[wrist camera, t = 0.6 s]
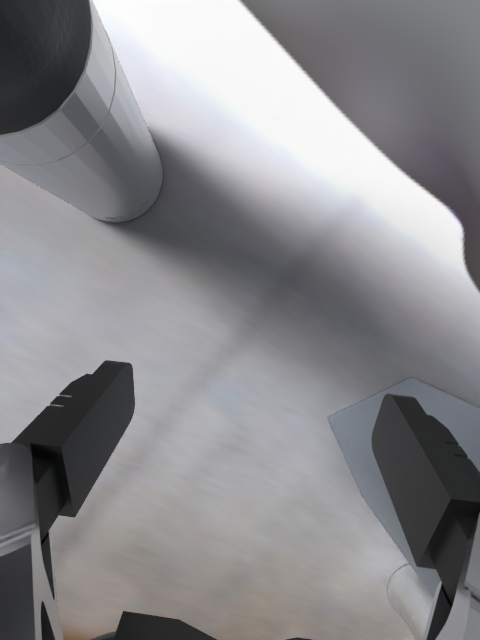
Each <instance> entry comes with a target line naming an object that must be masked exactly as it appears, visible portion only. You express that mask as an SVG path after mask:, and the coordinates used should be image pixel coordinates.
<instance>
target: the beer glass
mask: <svg viewBox="0 0 480 640" xmlns="http://www.w3.org/2000/svg"><path fill="white" fill-rule="evenodd" d="M387 594H388V598H389V601H390V603H391V604H392V606H393V607H394V609H395V610H396V611H397V613H398V614H399V615H400V616H401V618H402V619H403V620H404V622H405V623H406V625H407V626H408V628H409V629H410V631H411V633H412V635H413V637H414V639H415V640H422V639H423V635H424V631H425V628H426V624H427V621H428V617H429V614H430V610H431V607H432V603H433V599H434V598H433V597H432V595H431V594H430V593H429V591H428V590H427V588H426V587H425V585H424V584H423V583H422V581H421V580H420V578H419V577H418V575H417V574H416V573H415V571H414V570H413V568H412V567H411V565H410V564H409V565H405V566H403V567H401V568H400V569H398V570H397V571H396V572H395V573H394V574H393V575H392V577H391V579H390V581H389V583H388V587H387Z"/></svg>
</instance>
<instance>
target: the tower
mask: <svg viewBox="0 0 480 640" xmlns="http://www.w3.org/2000/svg"><path fill="white" fill-rule="evenodd" d="M386 394H397V395H405V396H413V397H415V398H416V399H417V401H418V402H419V404H420V405H421V407H422V408H423V410H424V411H425V412H426V414H427V415H432V416H433V417H435V418H436V419H437V420H438V421H439V422H441V423H442V424H443V425H444V426H445V427H447V428H448V429H449V431H450V432H451V433H452V435H453V436H454V438H455V439H456V440H457V442H458V443H459V444H458V445H459V446H461V447H462V449H463V450H464V451H465V453H466V454H467V455H468V456H467V457H468V459H470V460H471V461H472V462H473V464H474V465H475V467H476V468H477V469H478V471H479V472H480V408H478V407H476V406H474V405H472V404H470V403H467V402H465V401H463V400H461V399H459V398H456V397H454V396H452V395H450V394H448V393H445V392H443V391H441V390H439V389H436V388H434V387H432V386H430V385H428V384H425V383H423V382H421V381H419V380H417V379H414V378H412V377H411V378H408V379H406V380H404V381H402V382H400V383H398V384H396V385H394V386H392V387H390V388H387V389H385V390H383V391H381V392H379V393H377V394H375V395H373V396H371V397H369V398H367V399H364V400H362V401H360V402H358V403H356V404H354V405H352V406H350V407H348V408H346V409H344V410H341V411H339V412H337V413H335V414H333V415H331V416H329V417H327V418H328V421H329V423H330V425H331V427H332V430H333V432H334V434H335V436H336V439H337V441H338V443H339V445H340V448H341V450H342V452H343V454H344V457H345V459H346V461H347V463H348V465H349V468H350V470H351V472H352V474H353V477H354V479H355V481H356V483H357V486H358V488H359V490H360V492H361V495H362V497H363V498H364V500H365V501H366V502H367V504H368V505H369V507H370V508H371V510H372V511H373V512H374V514H375V515H376V517H377V518H378V520H379V521H380V522H381V524H382V525H383V527H384V528H385V530H386V531H387V532H388V534H389V535H390V537H391V538H392V540H393V541H394V542H395V544H396V545H397V547H398V548H399V550H400V551H401V553H402V554H403V555H404V557H405V558H406V560H407V561H408V563H409V564H410V565H411V567H412V568H413V570H414V571H415V573H416V574H417V575H418V577H419V578H420V580H421V581H422V583H423V584H424V585H425V587H426V588H427V590H428V591H429V593H430V594H431V595H432V597H433V598H434V596H435V592H436V589H437V587H438V584H439V583H440V581H441V579H440V577H439V575H438V572H437V570H436V569H430V568H422V567H417V566H416V563H415V561H414V558H413V556H412V553H411V550H410V548H409V545H408V543H407V540H406V537H405V535H404V532H403V530H402V527H401V524H400V522H399V519H398V516H397V514H396V511H395V509H394V506H393V503H392V501H391V498H390V496H389V493H388V490H387V488H386V485H385V483H384V480H383V477H382V475H381V472H380V469H379V467H378V464H377V462H376V459H375V456H374V454H373V450H372V442H371V440H372V432H373V428H374V425H375V422H376V419H377V416H378V413H379V410H380V407H381V403H382V400H383V398H384V396H385V395H386Z"/></svg>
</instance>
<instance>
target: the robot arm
mask: <svg viewBox="0 0 480 640" xmlns="http://www.w3.org/2000/svg"><path fill="white" fill-rule="evenodd" d="M0 164H1V165H3V166H4V167H6V168H8V169H10V170H11V171H13V172H15V173H17V174H18V175H20V176H22V177H23V178H25V179H27V180H29V181H30V182H32V183H34V184H36V185H37V186H39V187H41V188H43V189H44V190H46V191H48V192H50V193H51V194H53V195H55V196H57V197H58V198H60V199H62V200H63V201H65V202H67V203H69V204H70V205H72V206H74V207H76V208H77V209H79V210H81V211H83V212H85V213H86V214H88V215H90V216H92V217H93V218H96V219H99V220H102V221H105V222H114V223H117V222H126V221H129V220H132V219H135V218H137V217H139V216H140V215H142V214H144V213H145V212H146V211H147V210H148V209H149V208H150V207H151V206H152V205H153V203H154V202H155V200H156V199H157V197H158V195H159V192H160V190H161V186H162V180H163V168H162V163H161V159H160V156H159V153H158V151H157V149H156V146H155V144H154V142H153V139H152V137H151V134H150V132H149V130H148V127H147V125H146V123H145V120H144V118H143V116H142V113H141V111H140V109H139V106H138V104H137V102H136V99H135V97H134V95H133V93H132V90H131V88H130V86H129V83H128V81H127V79H126V76H125V74H124V72H123V69H122V67H121V65H120V62H119V60H118V58H117V56H116V53H115V51H114V49H113V46H112V44H111V42H110V39H109V37H108V35H107V32H106V30H105V29H104V26H103V24H102V22H101V19H100V17H99V15H98V12H97V10H96V8H95V5H94V3H93V1H92V0H0ZM134 407H135V397H134V382H133V368H132V365H131V364H130V363H125V362H117V361H108V360H107V361H104V362H103V363H102V364H101V366H100V367H99V368H98V369H97V370H96V371H95V372H94V373H93V374H92V375H91V374H86V375H84V376H82V377H80V378H78V379H77V380H75V381H73V382H71V383H70V384H69V385H68V386H67V387H66V388H65V389H64V390H63V391H62V392H61V393H60V395H59V396H57V397H56V398H55V399H54V400H53V401H52V402H51V403H50V406H47V407H46V408H45V409H44V410H43V411H42V412H41V413H40V414H39V415H38V416H37V417H36V418H35V419H34V420H33V421H32V422H31V423H30V424H29V425H28V426H27V427H26V428H25V429H24V430H23V431H22V432H21V433H20V434H19V435H18V437H17V438H16V439H15V440H14V441H13V442H12V443H4V444H0V640H63V634H62V628H61V623H60V617H59V609H58V600H57V590H56V579H55V569H54V559H53V548H52V538H51V531H50V528H51V526H52V525H53V523H54V521H55V520H56V518H57V517H58V515H61V516H68V517H75V516H76V515H77V513H78V511H79V509H80V508H81V506H82V504H83V503H84V501H85V499H86V497H87V496H88V494H89V492H90V490H91V489H92V487H93V485H94V484H95V482H96V480H97V478H98V477H99V475H100V473H101V472H102V470H103V468H104V466H105V465H106V463H107V461H108V459H109V458H110V456H111V454H112V453H113V451H114V449H115V447H116V446H117V444H118V442H119V440H120V439H121V437H122V435H123V434H124V432H125V430H126V428H127V427H128V425H129V423H130V421H131V419H132V416H133V413H134ZM371 442H372V450H373V454H374V456H375V459H376V462H377V464H378V467H379V469H380V472H381V475H382V477H383V480H384V483H385V485H386V488H387V490H388V493H389V496H390V498H391V501H392V503H393V506H394V509H395V511H396V514H397V516H398V519H399V522H400V524H401V527H402V530H403V532H404V535H405V537H406V540H407V543H408V545H409V548H410V550H411V553H412V556H413V558H414V561H415V563H416V566H417V567H422V568H430V569H436V570H437V572H438V575H439V577H440V579H441V581H440V583H439V584H438V587H437V589H436V592H435V596H434V599H433V603H432V607H431V610H430V614H429V617H428V621H427V624H426V628H425V631H424V635H423V639H422V640H480V472H479V471H478V469H477V468H476V467H475V465H474V464H473V462H472V461H471V460H470V459H468V457H467V456H468V455H467V454H466V453H465V451H464V450H463V449H462V447H461V446H459V445H458V444H459V443H458V442H457V440H456V439H455V438H454V436H453V435H452V433H451V432H450V431H449V429H448V428H447V427H445V426H444V425H443V424H442V423H441V422H439V421H438V420H437V419H436V418H435V417H433V416H432V415H427V414H426V412H425V411H424V410H423V408H422V407H421V405H420V404H419V402H418V401H417V399H416V398H415V397H413V396H405V395H397V394H386V395H385V396H384V398H383V400H382V403H381V407H380V410H379V413H378V416H377V419H376V422H375V425H374V428H373V432H372V440H371ZM91 640H216V639H215V638H213V637H211V636H209V635H207V634H205V633H203V632H201V631H199V630H198V629H196V628H194V627H192V626H190V625H188V624H186V623H184V622H183V621H181V620H179V619H172V618H165V617H159V616H152V615H146V614H139V613H132V612H126V611H123V613H122V616H121V619H120V622H119V625H118V628H117V631H116V632H111V633H107V634H104V635H101V636H98V637H95V638H93V639H91ZM287 640H310V639H303V638H292V639H287Z"/></svg>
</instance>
